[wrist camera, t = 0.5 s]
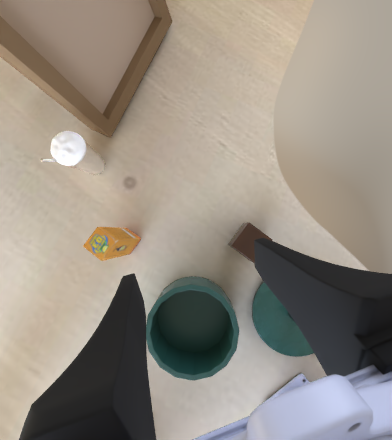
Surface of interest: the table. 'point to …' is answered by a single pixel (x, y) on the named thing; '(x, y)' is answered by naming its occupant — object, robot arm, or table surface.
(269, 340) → the lid
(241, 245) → the block
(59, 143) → the milkshake
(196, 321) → the tin
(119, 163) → the table surface
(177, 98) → the table surface
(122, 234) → the supplement box
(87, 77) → the photo frame
